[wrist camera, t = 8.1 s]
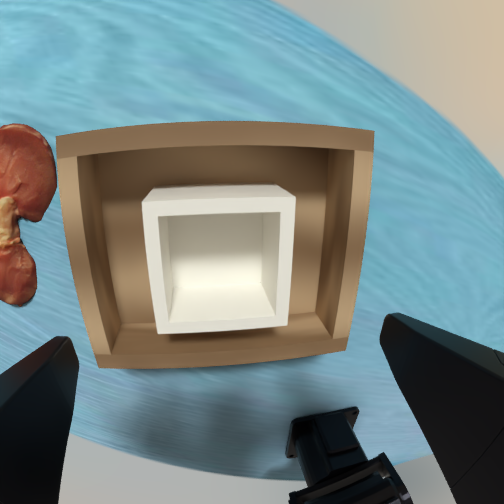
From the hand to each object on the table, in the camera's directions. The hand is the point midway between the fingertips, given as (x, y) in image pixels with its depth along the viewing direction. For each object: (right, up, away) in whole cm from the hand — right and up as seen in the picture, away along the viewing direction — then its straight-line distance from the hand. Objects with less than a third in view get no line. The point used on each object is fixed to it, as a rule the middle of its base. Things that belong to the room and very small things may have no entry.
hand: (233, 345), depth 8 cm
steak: (-15, +5, +7) cm, 18 cm away
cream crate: (-1, +3, +9) cm, 9 cm away
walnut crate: (-2, +3, +10) cm, 10 cm away
